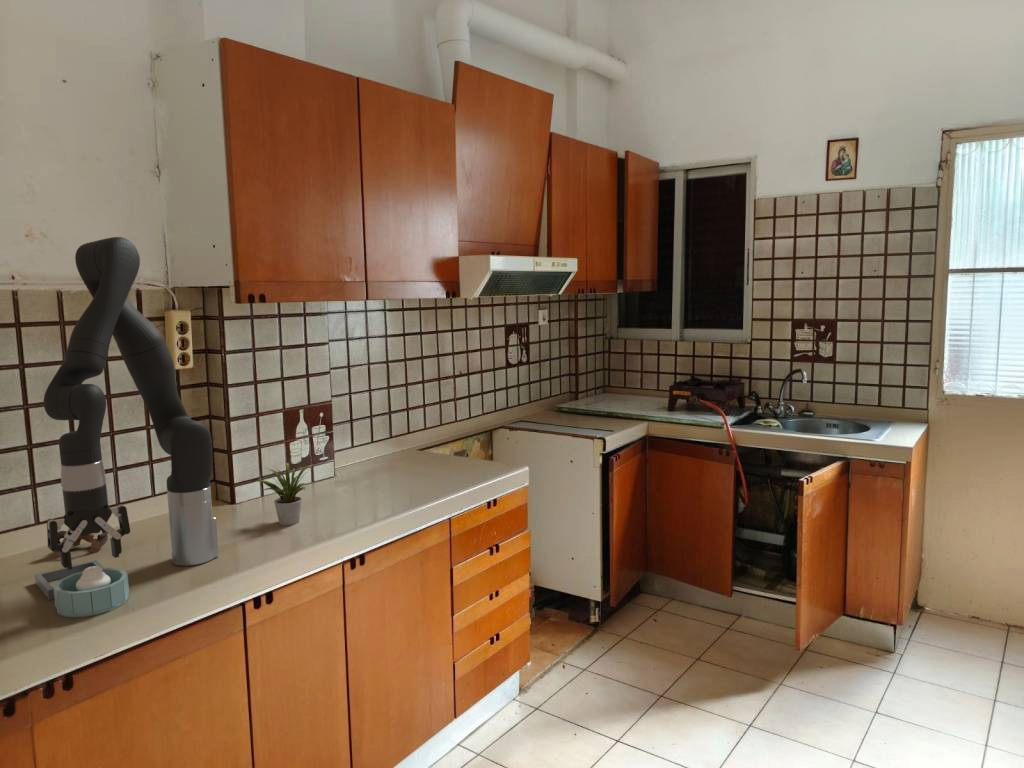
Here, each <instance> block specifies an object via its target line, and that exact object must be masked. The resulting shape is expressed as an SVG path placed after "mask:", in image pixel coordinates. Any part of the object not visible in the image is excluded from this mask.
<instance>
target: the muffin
mask: <svg viewBox="0 0 1024 768" xmlns="http://www.w3.org/2000/svg"><path fill="white" fill-rule="evenodd" d="M110 581H111V579H110V577H109V576H108V575H106V574H105V573H104V572H103V571H102V568H101V567H98V566H91V567H88V568H86V569H85V570H84V571H83V572H82V576H81V578H80V579H79V580H78V581H77V583H76V588H77V590H78V591H87V590H93V589H97V588H101V587H105V586H108V585H109V584H110Z"/></svg>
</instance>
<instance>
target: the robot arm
mask: <svg viewBox="0 0 1024 768" xmlns="http://www.w3.org/2000/svg"><path fill="white" fill-rule="evenodd" d="M74 256H75V257H74V259H75V266H76V268H77V271H78V274H79V276H80V279H82V282H83V283H84V285H85V287H86V288H87V290H88V293H89V294H90V295H91V297H92V300H91V302H90V303H89V304H88V306H87V308H86V309H85V310H84V311H83V313H82V315H81V316H80V317H79V319H78V321H76V324H75V325H74V328H73V329H72V332H71V334H70V337H69V341H68V345H67V347H66V348H67V349H66V353H65V356H64V361H63V362H62V363H61V365H60V366H59V368H57V372H56V373H55V375H54V376H53V378H52V379H51V380H50V382H49V384H48V386H47V388H46V390H45V393H44V396H43V408H44V411H45V412H46V415H47V416H49V418H51V419H53V420H55V421H78V426H77V428H76V430H73V431H70V432H67V433H64V434H61V436H60V437H59V440H58V447H59V456H60V457H59V458H60V466H61V467H60V479H61V481H60V482H61V483H60V485H61V488H62V497H63V507H64V508H63V509H64V515H63V518H58V519H52V518H49V519H47V521H46V533H47V536H46V537H47V548H48V549H49V550H50V551H52V552H55V553H56V552H59V556H60V563H61V567H62V568H66V569H67V570H70V569H72V565H73V563H72V562H73V561H72V554H71V551H70V549H71V548H72V546H73V545H72V544H73V543H74V542H75V541H76V540H77V538H78V537H79V536H87V535H89V534H98V533H100V532H102V529H104V530H105V531H106V532H107V533H108V534H109V535H110V536H111V538H109V539H110V548H111V555H112V557H113V558H115V559H116V558H119V557H120V555H121V554H122V552H123V551H122V548H123V547H122V541H121V539H122V538H123V537H124V536H125V535H129V534H130V533H131V526H130V522H129V516H128V515H129V514H128V509H127V506H126V505H123V504H122V503H118V504H117V505H116V506H113V507H109V500H108V489H107V488H108V487H107V481H106V480H107V479H106V470H105V466H104V463H103V456H102V447H101V438H102V437H101V436H102V430H103V424H104V419H105V415H106V409H107V398H106V395H105V393H104V391H103V390H102V388H101V387H99V386H98V385H97V384H93V383H84V381H86V380H88V379H92V378H95V377H98V376H100V375H101V374H102V373H103V372H104V369H105V366H106V361H107V359H108V353H109V350H110V346H111V341H112V337H113V339H114V340H115V343H116V345H117V348H118V351H119V353H120V355H121V357H122V359H123V362H124V365H125V366H126V369H127V370H128V373H129V374H130V377H131V378H132V380H133V382H134V385H135V387H136V388H137V389H136V390H137V391H138V393H139V394H140V396H141V398H142V400H143V402H144V404H145V406H146V408H147V410H148V413H149V416H150V419H151V422H152V425H153V429H154V432H155V435H156V438H157V441H158V443H159V446H160V447H161V449H162V450H163V451H164V453H166V454H167V455H169V456H170V468H171V469H170V470H171V472H170V475H169V476H167V479H166V492H167V493H166V495H167V507H168V519H169V531H170V532H169V535H170V543H171V544H170V547H171V558H172V564H174V565H176V566H182V567H184V566H186V567H187V566H188V567H189V566H196V565H200V564H205V563H207V562H210V561H211V560H213V559H215V558H219V546H218V545H219V544H218V532H217V531H218V530H217V529H218V527H217V518H216V517H215V516H213V507H212V506H213V505H212V504H213V503H212V490H211V477H212V475H213V468H214V467H213V464H214V463H213V441H212V436H211V432H210V430H209V429H208V427H207V426H206V425H205V424H203V423H202V422H201V421H198V420H194V419H192V418H191V416H190V415H189V413H188V411H187V410H186V408H185V406H184V404H183V402H182V400H181V398H180V395H179V393H178V388H177V380H176V379H177V378H176V377H177V376H176V368H175V363H174V360H173V357H172V354H171V352H170V350H169V349H170V348H169V347H168V345H167V342H166V339H165V337H164V336H163V334H162V332H161V331H160V330H159V329H158V328H157V327H156V326H155V325H154V323H152V322H151V321H150V320H149V319H148V318H147V317H145V316H144V315H143V314H142V313H141V312H140V311H139V310H138V309H137V308H135V306H134V305H133V304H132V303H131V301H130V300H129V299H128V296H129V294H130V291H131V289H132V287H133V285H134V282H135V280H136V278H137V276H138V273H139V269H140V267H141V257H140V253H139V251H138V249H137V247H136V246H135V244H133V242H132V241H130V240H129V239H128V238H125V237H122V236H113V237H106V238H102V239H99V240H95V241H90V242H86V243H83V244H81V245H80V246H79V247H78V248H77V249H76V252H75V255H74ZM112 514H113V515H114V517H116V518H117V520H118V525H119V528H118V529H117V530H116V529H115V528H114V527H112V526H111V525H110V524H109V523H108V521H109V520H110V518H111V516H112ZM64 525H65V526H66V527H67V528H68V529H67V530H66V531H67V532H66V534H65V536H64V538H62V540H61V541H60V542H61V543H60V544H58V532H59V531H61V530H62V526H64Z"/></svg>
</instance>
